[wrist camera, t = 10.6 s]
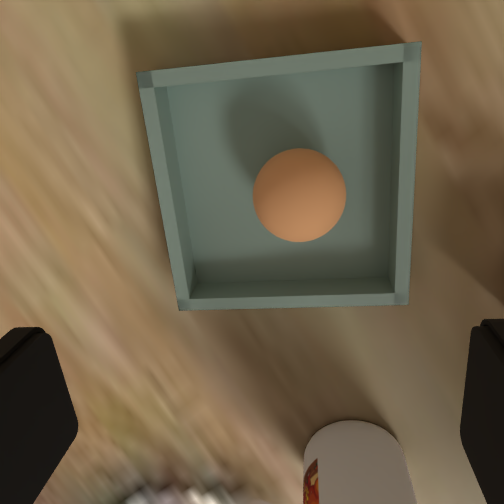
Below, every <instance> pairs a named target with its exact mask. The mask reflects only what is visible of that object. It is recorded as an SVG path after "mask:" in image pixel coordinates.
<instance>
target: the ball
mask: <svg viewBox="0 0 504 504" xmlns="http://www.w3.org/2000/svg"><path fill="white" fill-rule="evenodd" d="M345 203H346V186H345V182H344V179H343V176H342V174H341V172H340V170H339V169H338V167H337V166H336V165H335V164H334V163H333V162H332V161H331V160H330V159H329V158H328V157H327V156H325V155H323V154H321V153H319V152H317V151H314V150H311V149H304V148H296V149H290V150H286V151H283V152H281V153H279V154H277V155H275V156H274V157H272V158H271V159H270V160H269V161H267V162H266V164H265V165H264V166H263V167H262V168H261V170H260V171H259V173H258V175H257V177H256V180H255V183H254V187H253V204H254V208H255V212H256V214H257V216H258V219H259V220H260V222H261V223H262V224H263V226H264V227H265V228H266V229H267V230H268V231H269V232H271V233H272V234H274V235H275V236H277V237H279V238H281V239H284V240H287V241H292V242H306V241H311V240H314V239H317V238H319V237H321V236H323V235H324V234H326V233H327V232H329V231H330V230H331V229H332V228H333V227H334V226H335V225H336V223H337V222H338V220H339V219H340V217H341V215H342V213H343V210H344V207H345Z"/></svg>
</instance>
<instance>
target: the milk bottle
mask: <svg viewBox="0 0 504 504" xmlns="http://www.w3.org/2000/svg"><path fill="white" fill-rule="evenodd" d="M303 504H417V501H416V497H415V493H414V489H413V485H412V482H411V478H410V474H409V470H408V467H407V463H406V460H405V456H404V453H403V450H402V448H401V446H400V444H399V443H398V442H397V440H396V439H395V438H394V437H393V436H392V435H391V434H390V433H388V432H387V431H386V430H385V429H383V428H381V427H379V426H377V425H375V424H372V423H369V422H364V421H357V420H347V421H339V422H335V423H332V424H329V425H327V426H325V427H323V428H322V429H320V430H319V431H317V432H316V433H315V434H314V435H313V436H312V438H311V440H310V441H309V443H308V444H307V446H306V449H305V453H304V480H303Z"/></svg>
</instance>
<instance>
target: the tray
mask: <svg viewBox="0 0 504 504" xmlns="http://www.w3.org/2000/svg"><path fill="white" fill-rule="evenodd" d="M421 46H422V41H420V42H411V43H402V44H393V45H383V46H374V47H365V48H356V49H346V50H337V51H328V52H319V53H309V54H300V55H291V56H282V57H272V58H263V59H254V60H245V61H236V62H226V63H217V64H208V65H199V66H189V67H180V68H171V69H162V70H152V71H143V72H136V75H137V81H138V87H139V92H140V98H141V103H142V109H143V114H144V120H145V125H146V131H147V136H148V142H149V147H150V153H151V158H152V164H153V169H154V175H155V181H156V186H157V192H158V197H159V203H160V208H161V214H162V219H163V225H164V230H165V236H166V241H167V247H168V252H169V258H170V263H171V269H172V275H173V280H174V286H175V291H176V297H177V302H178V308H179V311H183V310H223V309H263V308H303V307H343V306H383V305H408V304H409V285H410V265H411V245H412V225H413V205H414V185H415V165H416V145H417V126H418V106H419V86H420V66H421ZM296 148H304V149H311V150H314V151H317V152H319V153H321V154H323V155H325V156H327V157H328V158H329V159H330V160H331V161H332V162H333V163H334V164H335V165H336V166H337V167H338V169H339V170H340V172H341V174H342V176H343V179H344V182H345V186H346V203H345V207H344V210H343V213H342V215H341V217H340V219H339V220H338V222H337V223H336V225H335V226H334V227H333V228H332V229H331V230H330V231H329V232H327V233H326V234H324V235H323V236H321V237H319V238H317V239H314V240H311V241H306V242H292V241H287V240H284V239H281V238H279V237H277V236H275V235H274V234H272V233H271V232H269V231H268V230H267V229H266V228H265V227H264V226H263V224H262V223H261V222H260V220H259V219H258V216H257V214H256V212H255V208H254V204H253V187H254V183H255V180H256V177H257V175H258V173H259V171H260V170H261V168H262V167H263V166H264V165H265V164H266V162H267V161H269V160H270V159H271V158H272V157H274V156H275V155H277V154H279V153H281V152H283V151H286V150H290V149H296Z"/></svg>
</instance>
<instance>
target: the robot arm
mask: <svg viewBox="0 0 504 504" xmlns="http://www.w3.org/2000/svg"><path fill="white" fill-rule="evenodd" d="M77 432H78V420H77V417H76V414H75V411H74V407H73V404H72V401H71V398H70V395H69V391H68V388H67V385H66V382H65V379H64V376H63V372H62V369H61V366H60V363H59V360H58V356H57V353H56V350H55V347H54V344H53V341H52V338H51V336H50V335H49V334H47V333H45V331H44V330H43V329H42V328H40V327H18V328H13V329H12V330H10V331H9V332H8V333H7V334H5V335H4V336H3V337H2V338H1V339H0V504H33V503H34V501H35V500H36V498H37V497H38V495H39V494H40V492H41V490H42V489H43V487H44V486H45V484H46V483H47V481H48V480H49V478H50V476H51V475H52V473H53V472H54V470H55V469H56V467H57V466H58V464H59V462H60V461H61V459H62V458H63V456H64V455H65V453H66V451H67V450H68V448H69V447H70V445H71V444H72V442H73V441H74V439H75V437H76V435H77ZM460 435H461V441H462V445H463V448H464V450H465V452H466V455H467V457H468V460H469V462H470V464H471V467H472V469H473V471H474V474H475V476H476V478H477V481H478V483H479V486H480V488H481V490H482V493H483V495H484V497H485V500H486V502H487V504H504V319H484V320H482V322H481V324H480V326H474V327H473V328H472V330H471V337H470V345H469V354H468V363H467V372H466V381H465V389H464V398H463V407H462V416H461V424H460Z"/></svg>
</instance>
